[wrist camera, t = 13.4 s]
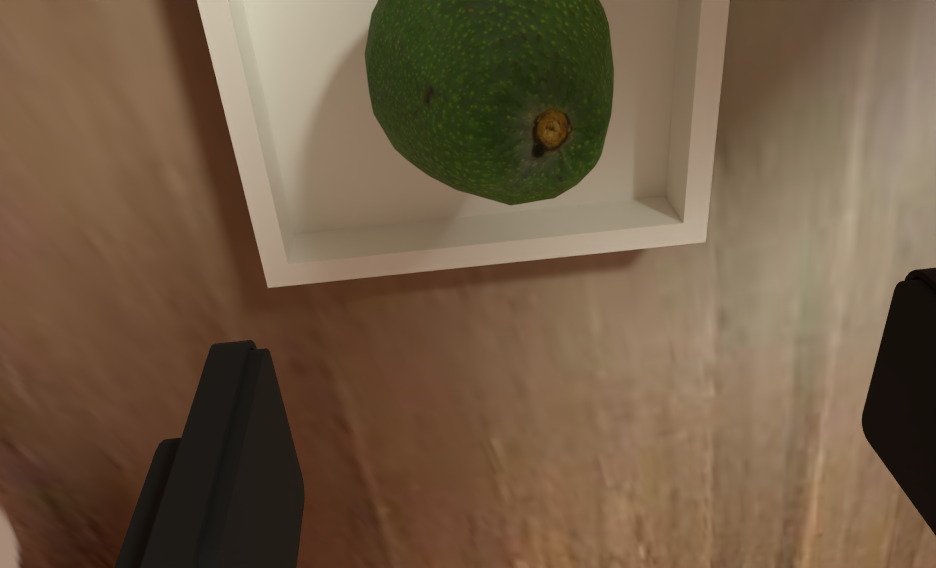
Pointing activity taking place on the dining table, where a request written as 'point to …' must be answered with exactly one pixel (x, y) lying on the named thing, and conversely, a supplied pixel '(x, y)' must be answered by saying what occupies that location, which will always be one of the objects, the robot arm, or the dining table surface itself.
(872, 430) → the robot arm
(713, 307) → the dining table surface
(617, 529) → the dining table surface
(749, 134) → the dining table surface
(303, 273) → the tray
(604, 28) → the avocado
